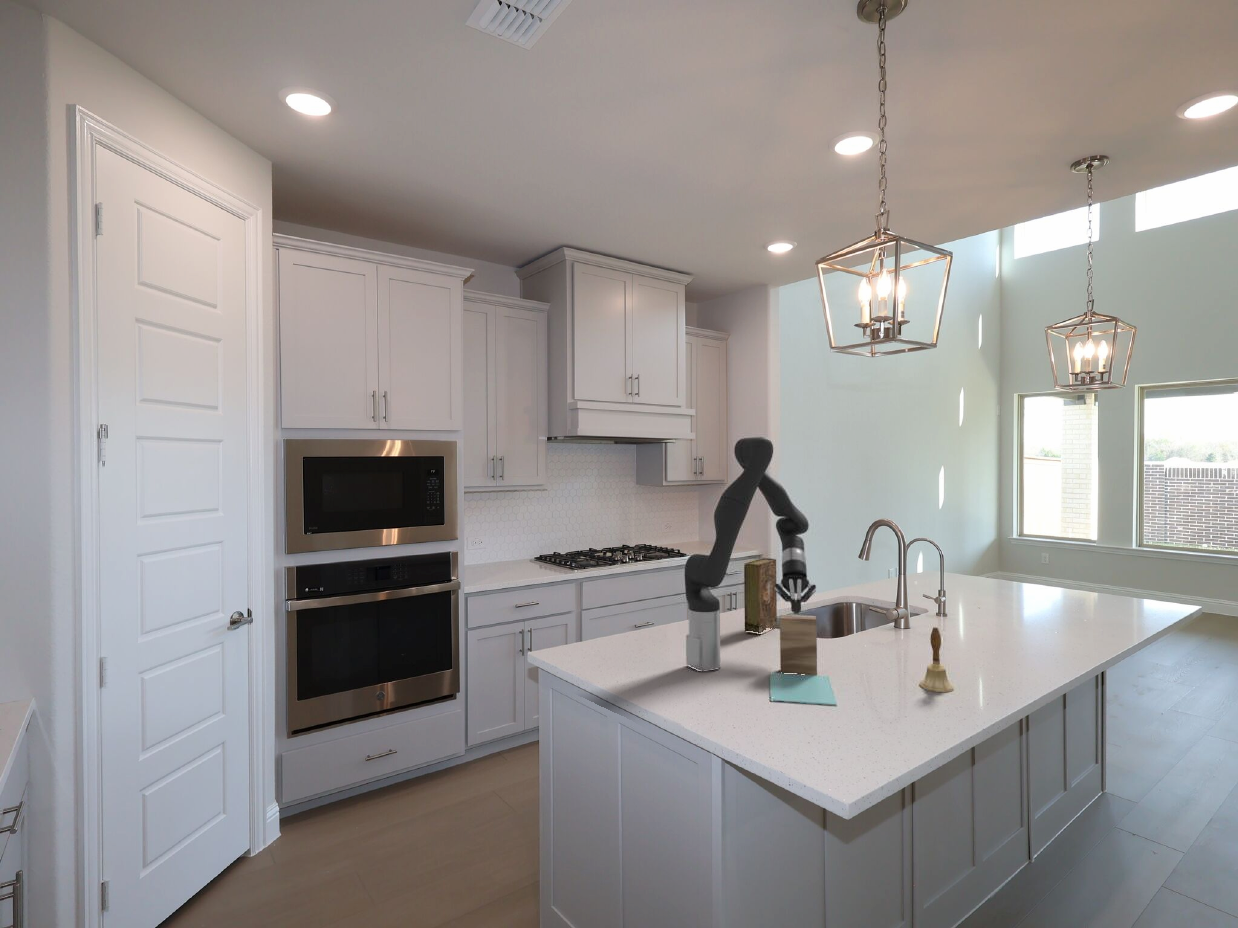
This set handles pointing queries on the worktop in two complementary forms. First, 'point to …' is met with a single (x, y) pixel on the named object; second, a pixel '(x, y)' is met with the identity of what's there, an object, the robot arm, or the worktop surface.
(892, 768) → the worktop surface
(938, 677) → the hand bell
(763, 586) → the book
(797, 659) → the block
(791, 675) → the mat
